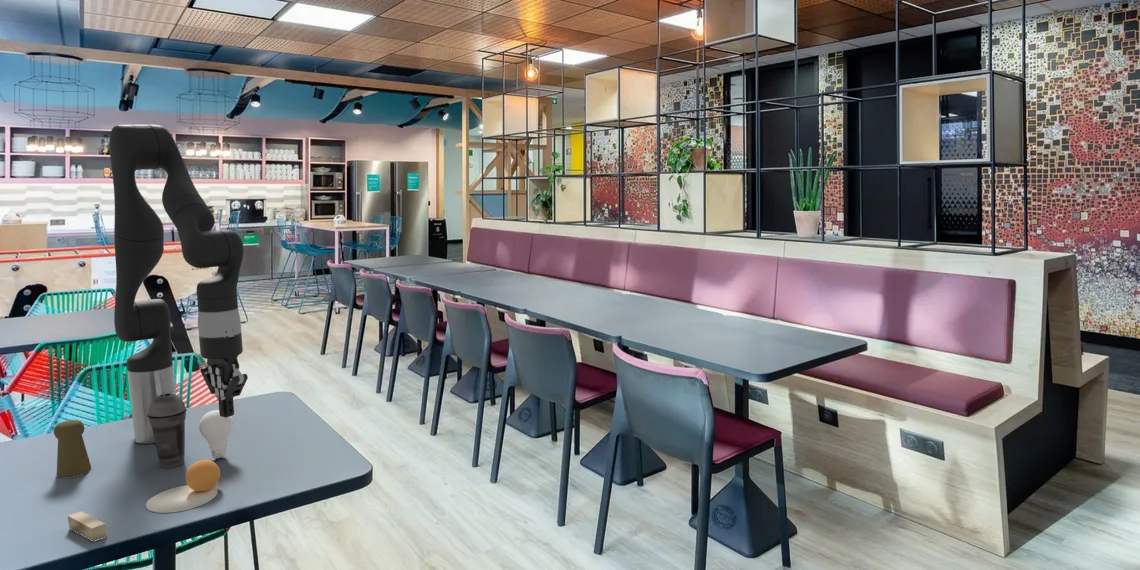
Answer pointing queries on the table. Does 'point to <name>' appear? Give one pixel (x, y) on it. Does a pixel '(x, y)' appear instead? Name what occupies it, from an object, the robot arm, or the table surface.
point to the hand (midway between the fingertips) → (227, 415)
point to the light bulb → (216, 432)
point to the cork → (71, 449)
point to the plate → (179, 499)
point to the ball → (202, 475)
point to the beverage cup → (168, 428)
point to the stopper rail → (87, 525)
